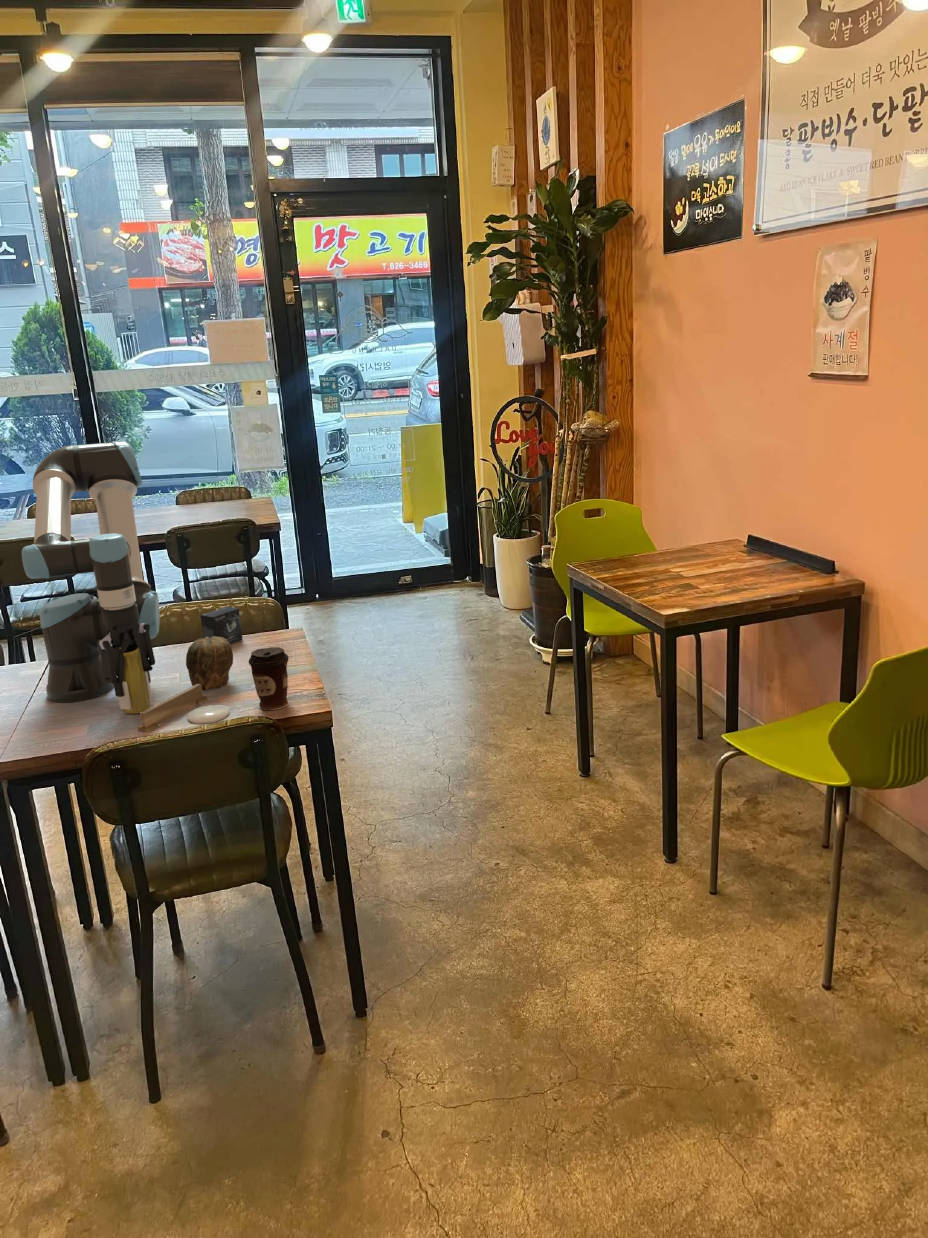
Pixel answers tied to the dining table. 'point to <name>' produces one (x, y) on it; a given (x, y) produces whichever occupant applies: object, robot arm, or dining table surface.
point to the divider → (171, 707)
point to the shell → (209, 662)
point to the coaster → (208, 714)
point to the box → (222, 624)
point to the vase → (135, 682)
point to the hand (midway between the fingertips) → (136, 703)
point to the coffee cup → (270, 677)
